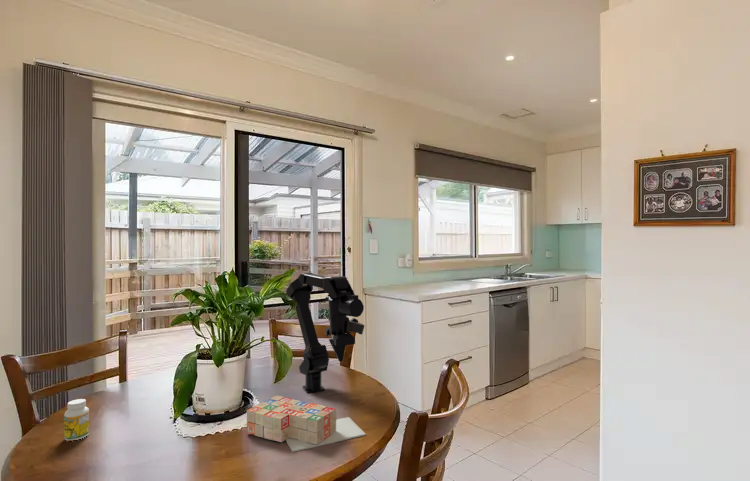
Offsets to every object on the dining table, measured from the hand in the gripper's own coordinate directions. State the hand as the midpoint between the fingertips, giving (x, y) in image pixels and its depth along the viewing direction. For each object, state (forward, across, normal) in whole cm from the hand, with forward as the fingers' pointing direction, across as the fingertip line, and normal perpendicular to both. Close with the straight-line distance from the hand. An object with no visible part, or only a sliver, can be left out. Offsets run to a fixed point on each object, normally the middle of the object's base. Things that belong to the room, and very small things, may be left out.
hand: (340, 361), depth 133 cm
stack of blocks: (+9, -14, +14) cm, 22 cm away
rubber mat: (+13, -22, +11) cm, 27 cm away
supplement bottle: (+9, -2, +74) cm, 74 cm away
